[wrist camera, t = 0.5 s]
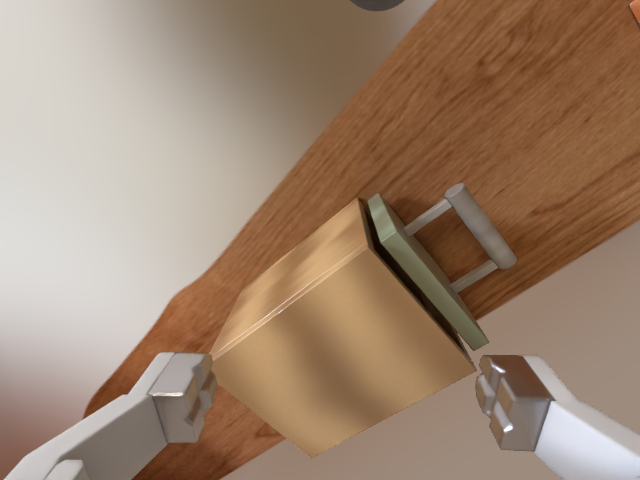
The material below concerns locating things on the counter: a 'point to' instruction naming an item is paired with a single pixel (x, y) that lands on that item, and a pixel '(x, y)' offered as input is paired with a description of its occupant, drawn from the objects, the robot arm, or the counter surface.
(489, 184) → the counter surface
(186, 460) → the counter surface
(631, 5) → the supplement box
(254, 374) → the cabinet
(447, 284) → the drawer
